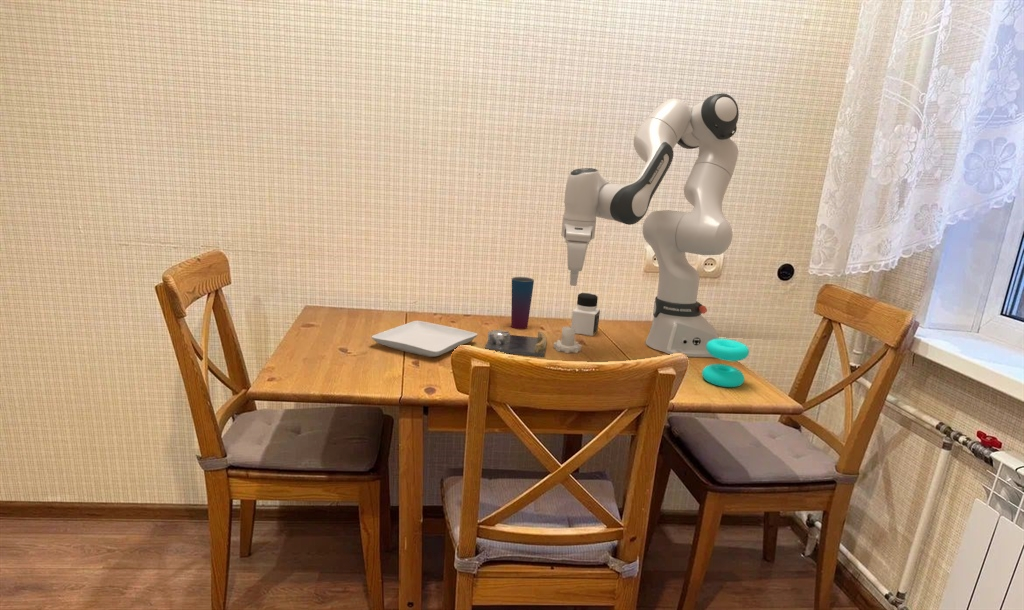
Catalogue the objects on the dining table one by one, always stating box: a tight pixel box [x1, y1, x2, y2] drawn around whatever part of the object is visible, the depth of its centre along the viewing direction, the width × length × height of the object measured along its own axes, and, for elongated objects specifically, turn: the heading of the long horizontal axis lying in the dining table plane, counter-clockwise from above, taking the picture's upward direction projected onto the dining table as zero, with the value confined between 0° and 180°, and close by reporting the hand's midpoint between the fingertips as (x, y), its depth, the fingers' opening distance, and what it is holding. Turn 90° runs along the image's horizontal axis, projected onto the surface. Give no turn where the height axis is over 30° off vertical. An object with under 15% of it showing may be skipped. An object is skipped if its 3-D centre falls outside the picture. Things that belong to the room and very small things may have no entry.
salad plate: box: [371, 320, 479, 358], centre depth 163 cm, size 21×21×3 cm
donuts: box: [701, 338, 750, 388], centre depth 150 cm, size 10×10×10 cm
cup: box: [510, 276, 535, 330], centre depth 184 cm, size 7×7×15 cm
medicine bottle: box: [570, 292, 601, 337], centre depth 184 cm, size 7×7×12 cm
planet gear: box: [553, 326, 582, 354], centre depth 167 cm, size 8×8×6 cm
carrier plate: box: [484, 329, 547, 358], centre depth 166 cm, size 16×14×4 cm
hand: (573, 281), depth 163 cm, fingers open, 8 cm apart
